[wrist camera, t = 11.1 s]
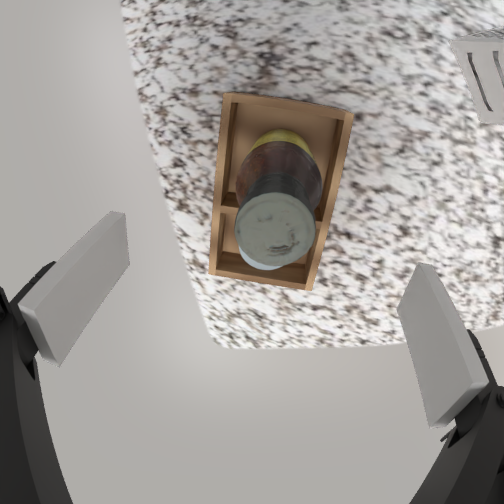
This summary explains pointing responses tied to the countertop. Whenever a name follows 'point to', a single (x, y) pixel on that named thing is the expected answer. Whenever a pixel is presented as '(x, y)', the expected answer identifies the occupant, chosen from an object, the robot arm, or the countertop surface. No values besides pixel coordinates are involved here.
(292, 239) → the sauce bottle
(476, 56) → the grater
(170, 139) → the countertop surface
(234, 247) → the caddy
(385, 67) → the countertop surface
